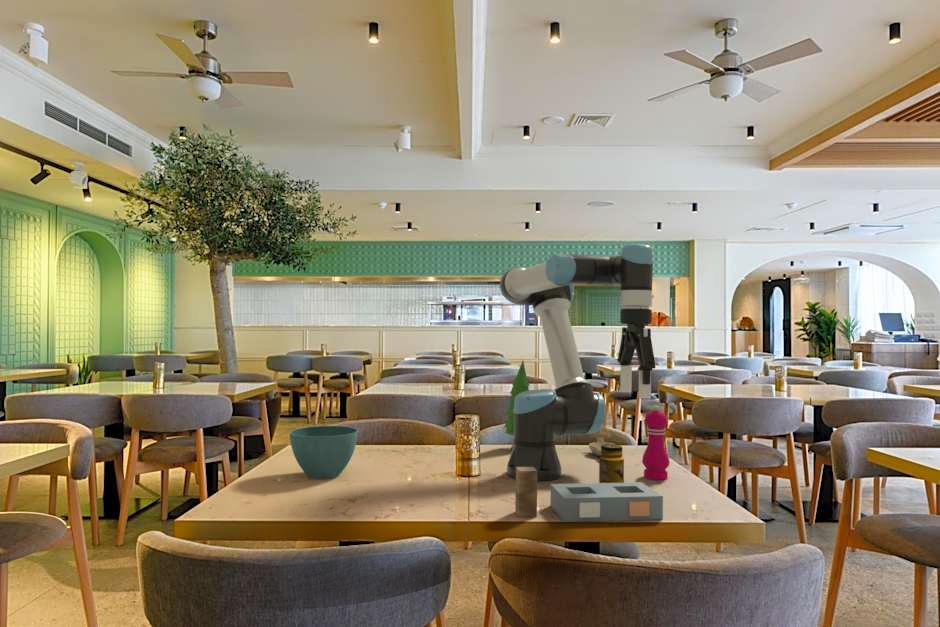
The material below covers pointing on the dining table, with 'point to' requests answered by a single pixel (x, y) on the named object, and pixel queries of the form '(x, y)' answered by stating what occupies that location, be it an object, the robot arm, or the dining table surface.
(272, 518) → the dining table surface
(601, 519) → the socket block
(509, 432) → the decorative tree
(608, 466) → the condiment
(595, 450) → the oil lamp
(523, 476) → the plug
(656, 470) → the pepper mill
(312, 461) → the plant pot
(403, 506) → the dining table surface
